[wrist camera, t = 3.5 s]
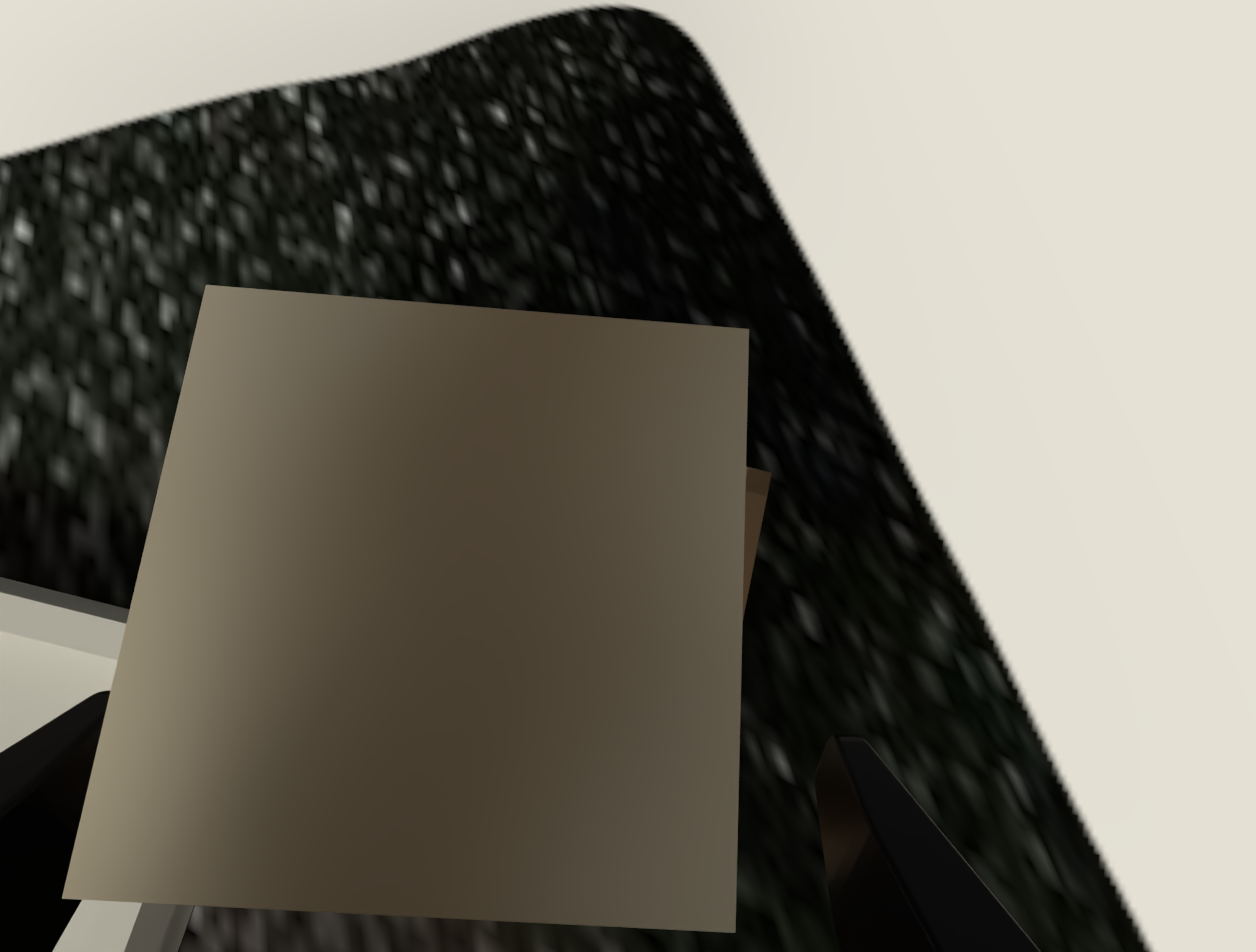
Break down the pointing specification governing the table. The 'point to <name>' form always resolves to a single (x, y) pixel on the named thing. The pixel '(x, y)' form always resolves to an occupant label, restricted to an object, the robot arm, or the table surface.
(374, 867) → the maple block
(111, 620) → the white tray
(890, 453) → the table surface
